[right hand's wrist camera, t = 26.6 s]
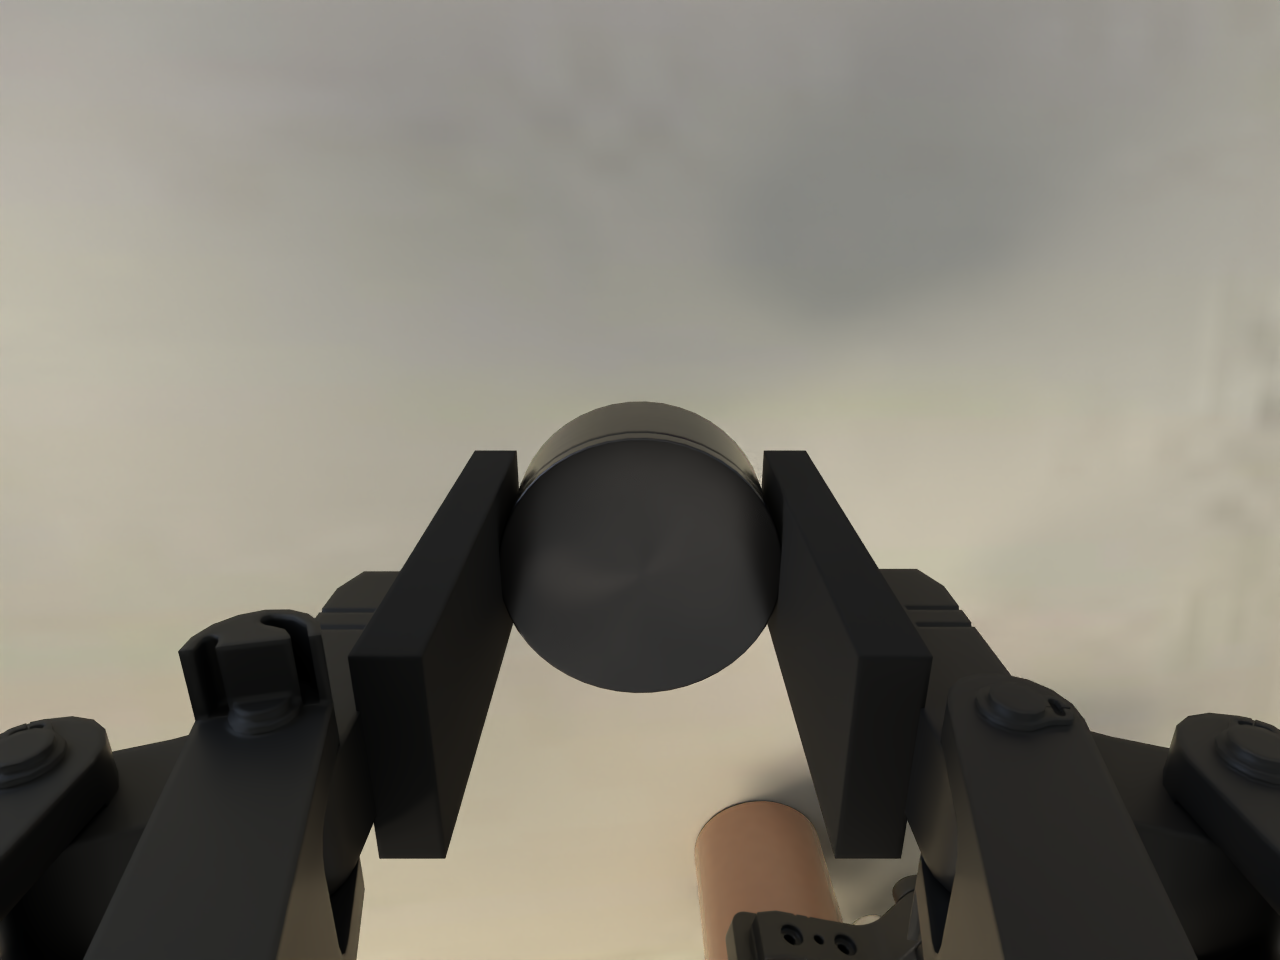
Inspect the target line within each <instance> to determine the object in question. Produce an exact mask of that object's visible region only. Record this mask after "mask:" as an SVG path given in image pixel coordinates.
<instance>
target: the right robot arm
mask: <svg viewBox="0 0 1280 960" xmlns="http://www.w3.org/2000/svg"><path fill="white" fill-rule="evenodd" d="M518 490H519V482H518V466H517V451H474V453H473V455H472V456H471V458H470V459H469V461H468V463H467V464H466V466H465V467H464V469H463V471H462V472H461V474H460V476H459V477H458V479H457V480H456V482H455V484H454V485H453V487H452V488H451V490H450V492H449V493H448V495H447V497H446V498H445V500H444V501H443V503H442V505H441V506H440V508H439V510H438V511H437V513H436V514H435V516H434V518H433V519H432V521H431V522H430V524H429V526H428V527H427V529H426V531H425V532H424V534H423V535H422V537H421V539H420V540H419V542H418V543H417V545H416V547H415V548H414V550H413V552H412V553H411V555H410V556H409V558H408V560H407V561H406V563H405V564H404V566H403V568H402V569H401V571H364V572H363V573H361V574H359V575H358V576H356V577H355V578H353V579H352V580H350V581H348V582H347V583H345V584H344V585H342V586H341V587H339V588H337V590H336V591H335V592H334V594H333V595H332V596H331V598H330V599H329V600H328V602H327V603H326V604H325V606H324V607H323V608H322V613H319V614H318V615H317V616H316V618H315V619H314V618H313V617H312V616H311V615H309V614H307V613H302V612H298V611H294V610H262V611H257V612H252V613H247V614H241V615H237V616H235V617H232V618H229V619H226V620H224V621H221V622H218V623H215V624H213V625H211V626H209V627H208V628H206V629H204V630H203V631H201V632H199V633H198V634H196V635H194V636H193V637H191V638H190V639H189V640H188V641H187V643H186V644H185V645H184V646H183V647H182V648H181V649H180V650H179V651H178V653H179V657H180V661H181V665H182V669H183V673H184V677H185V681H186V685H187V689H188V693H189V697H190V701H191V705H192V709H193V713H194V717H195V723H194V725H193V727H192V729H191V731H190V733H189V735H187V736H183V737H180V738H176V739H172V740H167V741H163V742H158V743H153V744H148V745H143V746H138V747H133V748H128V749H123V750H118V751H113V752H112V750H111V747H110V743H109V740H108V737H107V733H106V730H105V729H104V728H103V727H102V726H101V725H100V724H98V723H97V722H96V721H95V720H93V719H86V718H80V717H74V716H71V717H61V718H52V719H43V720H38V721H33V722H30V724H23V725H20V726H16V727H13V728H11V729H9V730H7V731H6V732H4V733H2V734H0V960H356V958H357V949H358V941H359V933H360V924H361V916H362V907H363V899H364V890H365V888H364V881H363V874H362V868H361V862H360V854H361V852H362V849H363V847H364V844H365V842H366V840H367V837H368V835H369V832H370V830H371V828H372V825H373V823H374V827H375V833H376V839H377V846H378V852H379V858H380V859H445V858H446V854H447V851H448V847H449V844H450V841H451V837H452V834H453V830H454V827H455V823H456V820H457V816H458V813H459V809H460V806H461V802H462V799H463V795H464V792H465V788H466V785H467V782H468V778H469V775H470V771H471V768H472V764H473V761H474V757H475V754H476V750H477V747H478V743H479V740H480V736H481V733H482V730H483V726H484V723H485V719H486V716H487V712H488V709H489V705H490V702H491V698H492V695H493V691H494V688H495V684H496V681H497V678H498V674H499V671H500V667H501V664H502V660H503V657H504V653H505V650H506V646H507V643H508V639H509V636H510V632H511V629H512V625H513V621H512V620H511V618H510V616H509V614H508V611H507V609H506V606H505V604H504V601H503V597H502V587H501V574H500V559H499V545H500V540H501V535H502V532H503V529H504V526H505V524H506V521H507V518H508V515H509V513H510V511H511V508H512V505H513V503H514V500H515V498H516V495H517V493H518ZM762 491H763V494H764V496H765V499H766V501H767V504H768V506H769V509H770V511H771V514H772V516H773V519H774V521H775V524H776V526H777V529H778V533H779V537H780V541H781V545H782V552H781V567H780V581H779V594H778V600H777V603H776V606H775V609H774V611H773V613H772V615H771V617H770V619H769V621H768V623H767V624H768V627H769V631H770V634H771V638H772V641H773V645H774V648H775V652H776V655H777V658H778V662H779V665H780V669H781V672H782V676H783V679H784V683H785V686H786V690H787V693H788V697H789V700H790V704H791V707H792V710H793V714H794V717H795V721H796V724H797V728H798V731H799V735H800V738H801V742H802V745H803V749H804V752H805V756H806V759H807V762H808V766H809V769H810V773H811V776H812V780H813V783H814V787H815V790H816V794H817V797H818V801H819V804H820V808H821V811H822V814H823V818H824V821H825V825H826V828H827V832H828V835H829V839H830V842H831V846H832V849H833V853H834V856H835V858H881V859H901V855H902V849H903V843H904V837H905V830H906V824H907V820H908V822H909V825H910V827H911V830H912V832H913V834H914V837H915V839H916V841H917V844H918V846H919V849H920V851H921V856H920V862H919V868H918V874H917V880H916V886H915V891H914V897H913V903H912V909H911V915H910V921H909V928H908V935H907V939H908V940H913V941H917V940H918V935H919V929H920V931H921V939H922V948H923V956H924V960H1280V730H1279V729H1277V728H1276V727H1274V726H1272V725H1270V724H1267V723H1264V722H1261V721H1258V720H1255V721H1254V720H1252V719H1251V718H1246V717H1241V716H1234V715H1225V714H1215V713H1205V714H1199V715H1193V716H1188V717H1187V718H1185V719H1184V720H1183V721H1182V722H1180V723H1179V724H1178V725H1177V726H1176V729H1175V732H1174V736H1173V739H1172V742H1171V746H1170V748H1165V747H1160V746H1155V745H1150V744H1145V743H1140V742H1135V741H1130V740H1125V739H1120V738H1115V737H1110V736H1106V735H1103V734H1099V733H1095V732H1091V731H1090V730H1089V728H1088V726H1087V724H1086V722H1085V720H1084V718H1083V717H1082V716H1081V714H1080V713H1079V712H1078V711H1077V709H1076V708H1075V707H1074V706H1073V704H1072V703H1070V702H1069V701H1067V700H1066V699H1064V698H1063V697H1062V696H1060V695H1059V694H1057V693H1056V692H1054V691H1053V690H1051V689H1049V688H1046V687H1044V686H1042V685H1039V684H1037V683H1035V682H1032V681H1030V680H1027V679H1023V678H1018V677H1014V676H1011V675H1010V673H1009V672H1008V671H1007V669H1006V668H1005V667H1004V665H1003V664H1002V663H1001V661H1000V660H999V659H998V657H997V656H996V655H995V653H994V652H993V651H992V649H991V648H990V647H989V645H988V644H987V643H986V641H985V640H984V639H983V637H982V636H981V635H980V634H979V632H978V631H977V630H976V628H975V627H971V622H970V620H969V619H968V618H967V616H966V615H965V614H964V612H963V611H962V610H959V606H958V604H957V603H956V602H955V600H954V599H953V598H952V596H951V595H950V594H949V592H948V591H947V590H946V588H945V587H944V586H943V585H941V584H940V583H938V582H937V581H935V580H933V579H932V578H930V577H929V576H927V575H925V574H924V573H922V572H921V571H919V570H918V569H879V568H878V567H877V565H876V564H875V562H874V560H873V559H872V557H871V555H870V554H869V552H868V551H867V549H866V547H865V546H864V544H863V543H862V541H861V539H860V538H859V536H858V534H857V533H856V531H855V530H854V528H853V526H852V525H851V523H850V522H849V520H848V518H847V517H846V515H845V513H844V512H843V510H842V509H841V507H840V505H839V504H838V502H837V501H836V499H835V497H834V496H833V494H832V492H831V491H830V489H829V488H828V486H827V484H826V483H825V481H824V480H823V478H822V476H821V475H820V473H819V471H818V470H817V468H816V467H815V465H814V463H813V462H812V460H811V459H810V457H809V455H808V454H807V452H806V451H764V458H763V474H762Z"/></svg>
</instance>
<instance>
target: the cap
mask: <svg viewBox="0 0 1280 960" xmlns="http://www.w3.org/2000/svg"><path fill="white" fill-rule="evenodd" d="M781 552H782V545H781V541H780V537H779V533H778V529H777V526H776V524H775V521H774V519H773V516H772V514H771V511H770V509H769V506H768V504H767V501H766V499H765V496H764V494H763V491H762V489H761V486H760V484H759V481H758V479H757V476H756V474H755V472H754V469H753V467H752V465H751V464H750V462H749V460H748V459H747V457H746V455H745V454H744V452H743V451H742V450H741V449H740V447H739V446H738V445H737V444H736V442H735V441H734V440H733V439H732V438H730V437H729V436H728V435H727V434H726V433H725V432H724V431H723V430H722V429H720V428H719V427H717V426H716V425H715V424H713V423H712V422H711V421H709V420H707V419H705V418H703V417H701V416H700V415H698V414H696V413H693V412H691V411H688V410H685V409H683V408H680V407H676V406H672V405H668V404H664V403H655V402H625V403H619V404H612V405H608V406H605V407H601V408H598V409H595V410H592V411H590V412H588V413H585V414H583V415H581V416H579V417H577V418H576V419H574V420H572V421H571V422H569V423H567V424H566V425H564V426H563V427H562V428H561V429H559V430H558V431H557V432H556V433H554V434H553V435H552V436H551V437H550V438H549V439H548V440H547V441H546V442H545V443H544V444H543V445H542V447H541V448H540V449H539V451H538V452H537V454H536V455H535V456H534V458H533V459H532V461H531V463H530V465H529V467H528V469H527V471H526V473H525V475H524V478H523V480H522V483H521V485H520V488H519V490H518V493H517V495H516V498H515V500H514V503H513V505H512V508H511V511H510V513H509V515H508V518H507V521H506V524H505V526H504V529H503V532H502V535H501V540H500V545H499V559H500V574H501V587H502V597H503V601H504V604H505V606H506V609H507V611H508V614H509V616H510V618H511V620H512V621H513V623H514V625H515V627H516V628H517V630H518V632H519V633H520V634H521V635H522V637H523V638H524V639H525V641H526V642H527V643H528V644H529V645H530V647H531V648H532V649H533V650H534V651H535V652H536V653H537V654H538V655H539V656H541V657H542V658H543V659H544V660H546V661H547V662H548V663H550V664H551V665H552V666H553V667H555V668H557V669H558V670H560V671H562V672H563V673H565V674H567V675H568V676H571V677H573V678H575V679H577V680H579V681H582V682H584V683H587V684H590V685H593V686H596V687H599V688H604V689H609V690H614V691H620V692H631V693H652V692H660V691H668V690H673V689H677V688H681V687H685V686H688V685H691V684H694V683H696V682H699V681H702V680H704V679H706V678H708V677H710V676H712V675H714V674H716V673H718V672H719V671H721V670H722V669H724V668H725V667H727V666H728V665H730V664H731V663H733V662H734V661H735V660H736V659H737V658H739V657H740V656H741V655H742V654H743V653H745V652H746V650H747V649H748V648H749V647H750V646H751V645H752V644H753V643H754V642H755V641H756V639H757V638H758V637H759V635H760V634H761V632H762V631H763V629H764V628H765V627H766V625H767V623H768V621H769V619H770V617H771V615H772V613H773V611H774V609H775V606H776V603H777V600H778V594H779V581H780V567H781Z"/></svg>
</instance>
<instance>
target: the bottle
mask: <svg viewBox="0 0 1280 960" xmlns="http://www.w3.org/2000/svg"><path fill="white" fill-rule="evenodd" d="M695 864H696V874H697V884H698V894H699V904H700V914H701V924H702V934H703V944H704V954H705V960H728V956H727V948H726V941H725V937H726V933H727V931H728V929H729V926H730V924H731V922H732V919H733V917H734V915H735V914H736V913H738V912H743V911H744V912H750V913H756V914H757V912H764V911H774V910H777V911H782V912H787V913H793V914H794V915H796V914H798V915H803V916H807V917H808V918H810V917H814V918H819V919H824V920H830V921H835V922H840V923H843V920H842V917H841V913H840V910H839V906H838V903H837V900H836V896H835V893H834V889H833V886H832V882H831V879H830V876H829V872H828V869H827V865H826V862H825V858H824V855H823V852H822V848H821V845H820V841H819V838H818V834H817V832H816V830H815V828H814V826H813V825H812V823H811V822H810V821H809V820H808V819H807V818H806V817H805V816H804V815H803V814H801V813H800V812H799V811H797V810H795V809H793V808H791V807H789V806H787V805H783V804H780V803H775V802H768V801H754V802H746V803H742V804H738V805H735V806H732V807H730V808H728V809H725V810H723V811H722V812H720V813H718V814H717V815H716V816H714V817H713V818H712V819H711V820H710V821H709V822H708V823H707V824H706V825H705V826H704V827H703V829H702V830H701V832H700V834H699V836H698V838H697V841H696V845H695Z"/></svg>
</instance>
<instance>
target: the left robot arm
mask: <svg viewBox="0 0 1280 960" xmlns="http://www.w3.org/2000/svg"><path fill="white" fill-rule="evenodd" d="M916 880H917V875H912V876H908V877H905V878H903V879H901V880H900V881H898V882H897V883H896V884H895V886H894V888H893V897H894V900H895V903H896V904H895V905H894V906H893V907H892V908H891V909H890V910H888V911H887V912H886V913H885V914H884V915H883V916H882V917H881V916H878V915H867V916H864V917H861V918H859V919H858V920H856V921H855V922H854V923H853V925H851V924H846V923H840V922H835V921H830V920H824V919H819V918H814V917H810V918H808V917H807V916H803V915H798V914H796V915H794V914H793V913H787V912H782V911H777V910H774V911H764V912H757V914H756V913H750V912H744V911H743V912H738V913H736V914H735V915H734V917H733V919H732V922H731V924H730V926H729V929H728V931H727V933H726V937H725V941H726V948H727V956H728V960H924V956H923V948H922V939H921V931H920V929H919V935H918V940H917V941H913V940H908V939H907V935H908V928H909V921H910V915H911V909H912V903H913V897H914V891H915V886H916Z"/></svg>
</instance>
